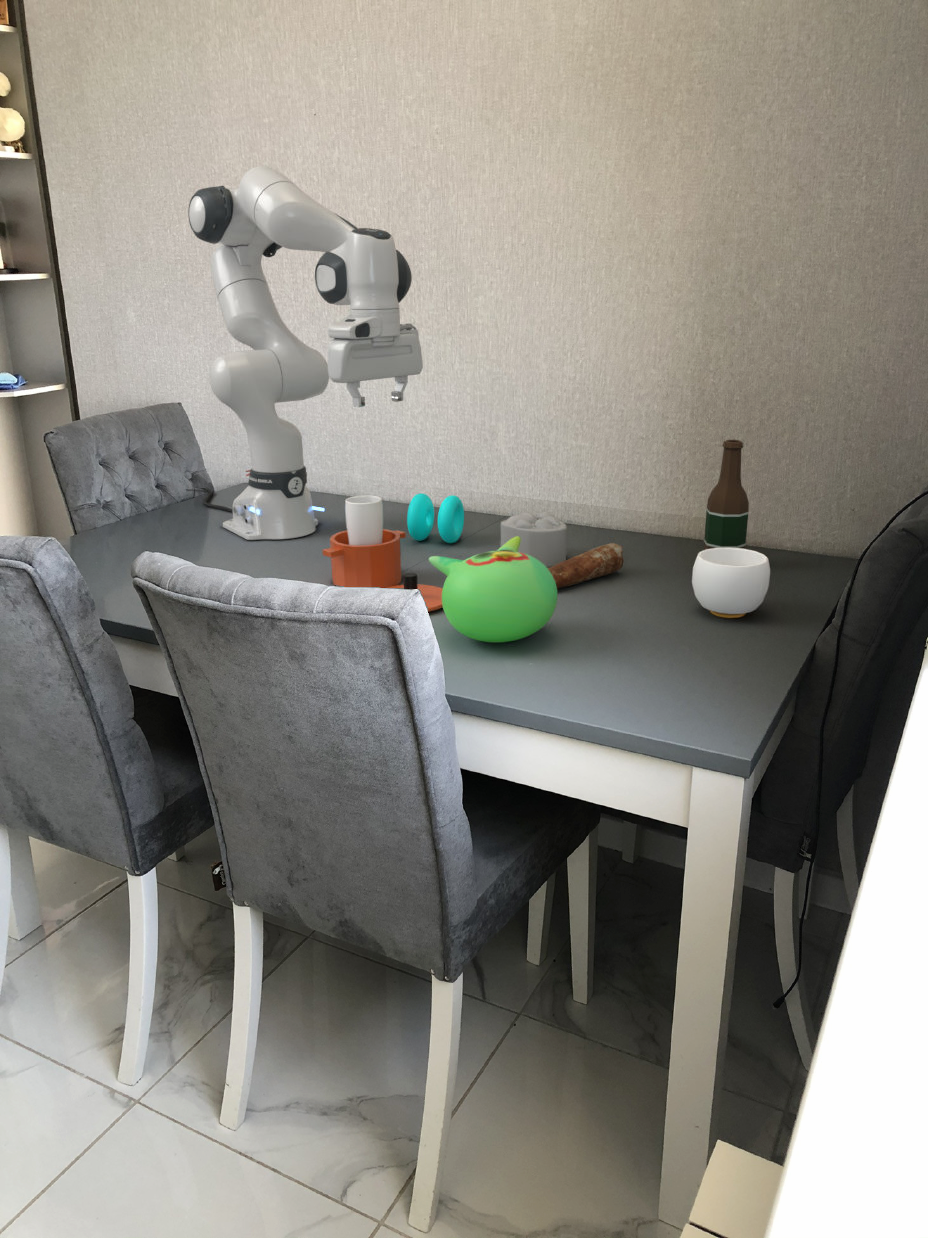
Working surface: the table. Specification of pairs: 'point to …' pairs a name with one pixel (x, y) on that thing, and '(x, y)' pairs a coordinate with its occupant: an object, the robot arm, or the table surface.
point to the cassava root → (588, 565)
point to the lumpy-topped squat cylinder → (537, 536)
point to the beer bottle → (727, 503)
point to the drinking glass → (364, 520)
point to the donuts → (423, 518)
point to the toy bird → (497, 593)
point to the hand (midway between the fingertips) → (378, 404)
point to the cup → (730, 580)
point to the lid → (423, 591)
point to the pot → (366, 561)
